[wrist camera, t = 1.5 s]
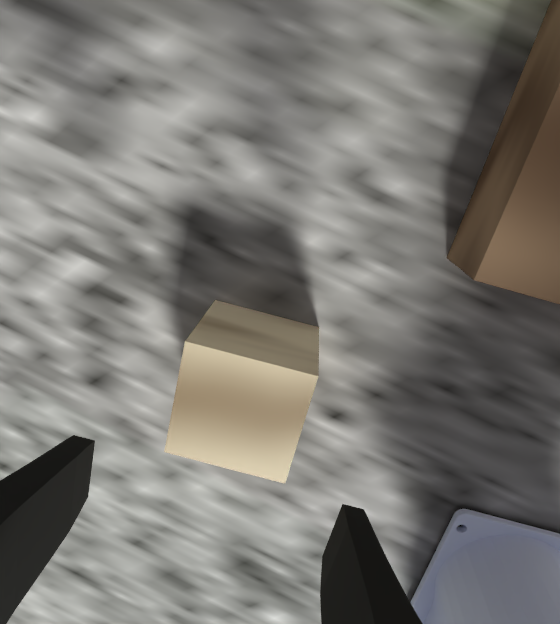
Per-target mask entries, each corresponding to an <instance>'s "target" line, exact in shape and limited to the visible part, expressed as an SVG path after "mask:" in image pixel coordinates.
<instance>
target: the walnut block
mask: <svg viewBox="0 0 560 624" xmlns="http://www.w3.org/2000/svg"><path fill="white" fill-rule="evenodd" d="M447 259H449V260H450V261H451V262H452V263H454V264H455V265H456V266H457V267H458V268H460V269H461V270H462V271H463V272H465V273H466V274H467V275H468V276H470V277H471V278H472V279H473V280H475V281H479V282H482V283H486V284H489V285H493V286H497V287H500V288H504V289H507V290H511V291H514V292H518V293H521V294H525V295H528V296H532V297H535V298H539V299H543V300H546V301H550V302H553V303H557V304H560V0H551V2H550V5H549V7H548V10H547V12H546V15H545V17H544V19H543V22H542V24H541V27H540V29H539V32H538V34H537V37H536V39H535V42H534V44H533V47H532V49H531V51H530V54H529V56H528V59H527V61H526V64H525V66H524V69H523V71H522V74H521V76H520V79H519V81H518V84H517V86H516V88H515V91H514V93H513V96H512V98H511V101H510V103H509V106H508V108H507V111H506V113H505V116H504V118H503V120H502V123H501V125H500V128H499V130H498V133H497V135H496V138H495V140H494V143H493V145H492V148H491V150H490V152H489V155H488V157H487V160H486V162H485V165H484V167H483V170H482V172H481V175H480V177H479V180H478V182H477V185H476V187H475V189H474V192H473V194H472V197H471V199H470V202H469V204H468V207H467V209H466V212H465V214H464V217H463V219H462V221H461V224H460V226H459V229H458V231H457V234H456V236H455V239H454V241H453V244H452V246H451V249H450V251H449V253H448V256H447Z"/></svg>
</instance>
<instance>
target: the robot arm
mask: <svg viewBox="0 0 560 624" xmlns="http://www.w3.org/2000/svg"><path fill="white" fill-rule="evenodd" d="M94 443H95V441H94V440H90V439H86V438H82V437H78V436H75V435H73V436H72V437H70V438H68V439H66V440H65V441H63V442H62V443H60V444H59V445H57V446H55V447H54V448H52V449H51V450H49V451H48V452H46V453H45V454H43V455H41V456H40V457H38V458H37V459H35V460H33V461H32V462H30V463H29V464H27V465H25V466H24V467H22V468H20V469H19V470H17V471H16V472H14V473H12V474H11V475H9V476H7V477H6V478H4V479H2V480H1V481H0V624H6V623H7V622H8V620H9V618H10V617H11V615H12V614H13V612H14V611H15V609H16V608H17V606H18V605H19V603H20V602H21V601H22V599H23V598H24V596H25V595H26V593H27V592H28V591H29V589H30V588H31V586H32V585H33V583H34V582H35V580H36V579H37V578H38V576H39V575H40V573H41V572H42V570H43V569H44V567H45V566H46V565H47V563H48V562H49V560H50V559H51V557H52V556H53V554H54V553H55V552H56V550H57V549H58V547H59V546H60V544H61V543H62V541H63V540H64V538H65V537H66V535H67V534H68V532H69V531H70V529H71V527H72V525H73V524H74V522H75V520H76V518H77V516H78V515H79V513H80V511H81V509H82V507H83V505H84V503H85V501H86V499H87V497H88V492H89V484H90V476H91V468H92V460H93V451H94ZM459 525H463V526H461V527H457V526H459ZM320 598H321V620H322V624H560V534H559V533H555V532H551V531H548V530H544V529H540V528H536V527H533V526H529V525H525V524H521V523H517V522H514V521H510V520H506V519H502V518H499V517H495V516H491V515H487V514H484V513H480V512H476V511H472V510H468V509H459V510H458V511H456V512H455V513H454V515H453V517H452V519H451V521H450V523H449V525H448V527H447V529H446V531H445V533H444V535H443V537H442V539H441V541H440V543H439V545H438V547H437V549H436V551H435V553H434V555H433V557H432V560H431V562H430V564H429V566H428V568H427V570H426V572H425V574H424V576H423V578H422V580H421V582H420V584H419V586H418V588H417V590H416V592H415V594H414V596H413V598H412V600H411V602H410V601H409V600H408V598H407V596H406V594H405V592H404V590H403V589H402V587H401V585H400V583H399V581H398V579H397V577H396V575H395V573H394V571H393V570H392V568H391V566H390V564H389V562H388V560H387V558H386V556H385V554H384V552H383V549H382V547H381V545H380V543H379V541H378V539H377V537H376V535H375V532H374V530H373V528H372V526H371V524H370V522H369V519H368V517H367V515H366V513H365V511H364V509H360V508H356V507H352V506H348V505H344V504H342V507H341V510H340V512H339V515H338V517H337V520H336V523H335V525H334V528H333V530H332V533H331V535H330V538H329V541H328V543H327V546H326V548H325V551H324V554H323V557H322V572H321V592H320Z"/></svg>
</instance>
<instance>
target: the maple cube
mask: <svg viewBox="0 0 560 624" xmlns="http://www.w3.org/2000/svg"><path fill="white" fill-rule="evenodd" d="M318 366H319V327H316V326H312V325H309V324H305V323H301V322H297V321H293V320H290V319H286V318H282V317H278V316H274V315H271V314H267V313H263V312H259V311H255V310H252V309H248V308H244V307H240V306H236V305H233V304H229V303H225V302H221V301H217V300H215V301H214V302H213V304H212V305H211V307H210V308H209V309H208V311H207V312H206V313H205V315H204V316H203V317H202V319H201V320H200V322H199V323H198V324H197V326H196V327H195V328H194V330H193V331H192V332H191V334H190V335H189V337H188V338H187V339H186V341H185V344H184V349H183V355H182V360H181V365H180V371H179V376H178V381H177V387H176V392H175V397H174V403H173V408H172V414H171V419H170V424H169V430H168V435H167V440H166V446H165V451H164V452H166V453H170V454H174V455H178V456H182V457H185V458H189V459H193V460H197V461H201V462H205V463H208V464H212V465H216V466H220V467H224V468H227V469H231V470H235V471H239V472H243V473H246V474H250V475H254V476H258V477H262V478H266V479H269V480H273V481H277V482H281V483H285V482H286V479H287V475H288V472H289V469H290V466H291V463H292V459H293V456H294V453H295V450H296V447H297V443H298V440H299V437H300V434H301V430H302V427H303V424H304V421H305V418H306V414H307V411H308V408H309V405H310V402H311V398H312V395H313V392H314V389H315V386H316V382H317V379H318Z"/></svg>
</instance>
